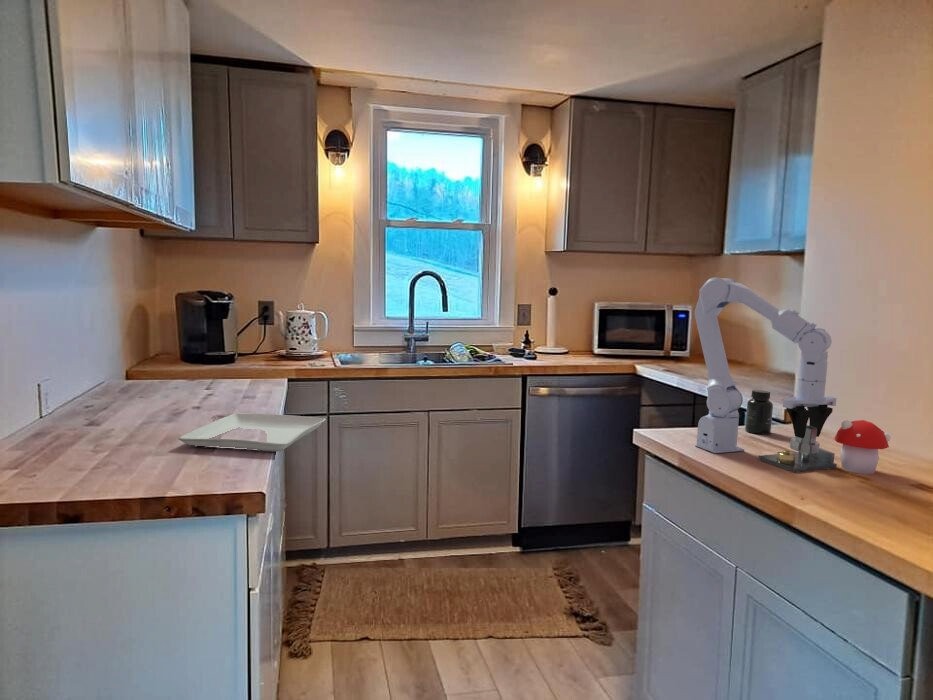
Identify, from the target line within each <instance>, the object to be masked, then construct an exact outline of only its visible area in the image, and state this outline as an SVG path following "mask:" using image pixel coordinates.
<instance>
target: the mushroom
mask: <svg viewBox="0 0 933 700" xmlns="http://www.w3.org/2000/svg"><path fill="white" fill-rule="evenodd" d="M833 440H834V441H835V442H836V443H838V444H841V445H842V446H841V449H840V460H841V461H840V463H841V469H843V470H844V471H847V472H849V473H854V474H859V475H873V473H874V474H875V472H876V470H877V466H878V463H879V460H880V456H879V450H885V449H888V448H890V445H889V441H890V440H892V438H891V435H890V434H889V433H888V432H885V431H884V430H882V429H881V428H880V427H878V426H877V425H876V424H875V423H873V422H871V421H867V420H864V419H858V420H853V421H851V420H844V421H842V422H841V424H840V427H839V429H838V430H837V432H836V434H835V436H834V438H833Z"/></svg>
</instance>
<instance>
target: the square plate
mask: <svg viewBox="0 0 933 700" xmlns="http://www.w3.org/2000/svg"><path fill="white" fill-rule="evenodd" d="M323 422H326V418H325V417H314V416H304V415H303V416H301V415H289V414H288V415H287V414H275V413H273V414H272V413H269V414H268V413H231V414H229V415H227V416H224V417H222V418H218V419H216V420H214V421H212V422H210V423H207V424H205V425H203V426H200V427H198V428H197V429H194V430H192V431H189V432H188V433H185V434H184V435H182V436H179V437H178V440H179V441H181V442H182V443H184V445H187V444H188V446H191V445H197V446H219V447H235V448H247V449H257V450H265V451H264V452H281V451H283V450H285V449H287V448H288V447H290V446H291V445H293V444H294V443H296V442H297V441H298V440H300V439H301V438H303V437H305V436H307V435H308V434H310V433H312V432H313V431H315V430H316V429H318V428H319V427H320V426H321V424H323ZM238 427H240V428H243V429H244V430H245V429H252V430H253V429H261V430H263V431H265V433H266V434H267V442H261V441H252V440H240V439H209V438H212V437H215V436H217V435H219V434H222V433H225V432H227V431H230V430H232V429H236V428H238ZM197 446H196V447H197Z"/></svg>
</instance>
